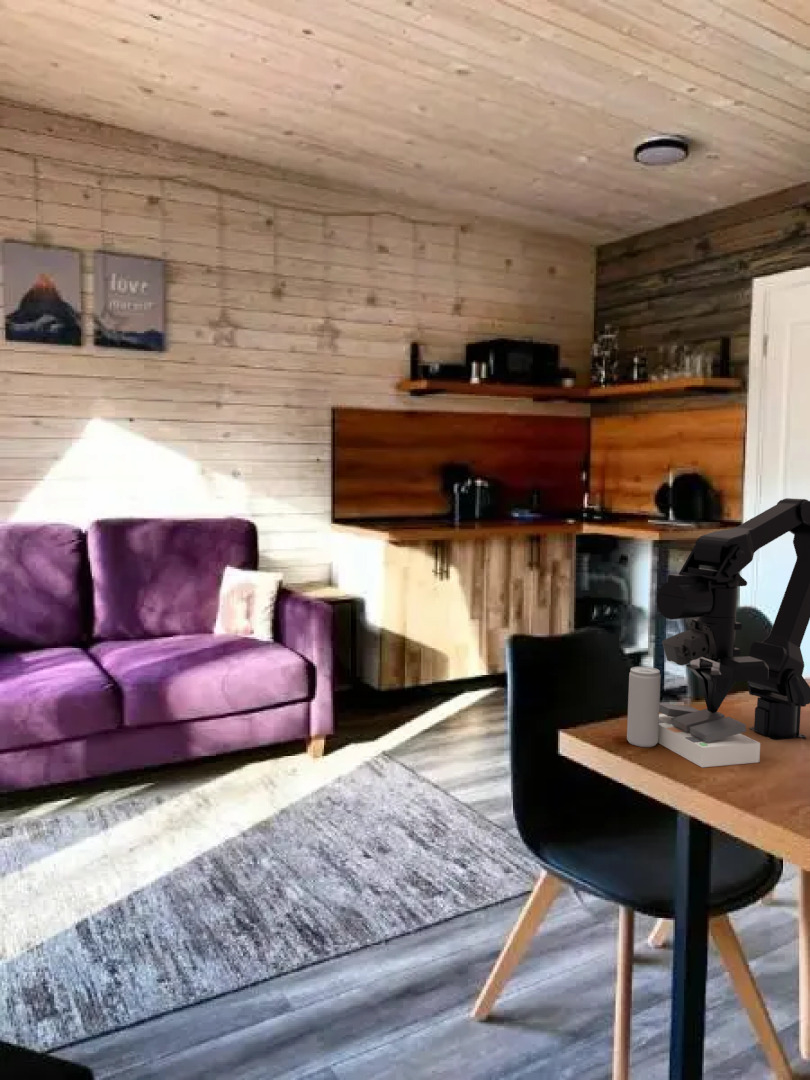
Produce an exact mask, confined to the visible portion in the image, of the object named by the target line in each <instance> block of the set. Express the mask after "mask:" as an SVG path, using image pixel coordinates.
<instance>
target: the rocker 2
mask: <svg viewBox="0 0 810 1080" xmlns="http://www.w3.org/2000/svg"><path fill="white" fill-rule="evenodd" d="M699 710H700V709H699ZM722 718H726V715H725V713H724V714H723V713H722V712H719V711H717V712H713V713H712V712H709V711H708V709H707V708H704V709H701V710H700V711H696V712H692V713H688V714H685V715H681V716H677V717H673V718H671V719H672V725H673V726H675V727H677V728H679V729H681V730H683V731H685V732H686V733H688V732H690V727H693V726H696V725H700V724H704V723H707V722H711V721H715V720H718V719H722Z"/></svg>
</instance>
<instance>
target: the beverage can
mask: <svg viewBox="0 0 810 1080" xmlns="http://www.w3.org/2000/svg"><path fill="white" fill-rule="evenodd" d="M660 673H661V671H660V670H659V669H658V668H654V667H649V666H648V667H647V666H634V667H631V668H630V672H629V674H628V675H629V676H628V697H627V699H628V701H627V723H626V724H627V729H626V740H627V741H628V743H629V744H630V745H633V746H636V747H641V748H653V747H655V746H656V745H657V744H659V743H658V728H659V714H660V712H659V703H661V702H660V701H661V699H660V698H661V674H660Z"/></svg>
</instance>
